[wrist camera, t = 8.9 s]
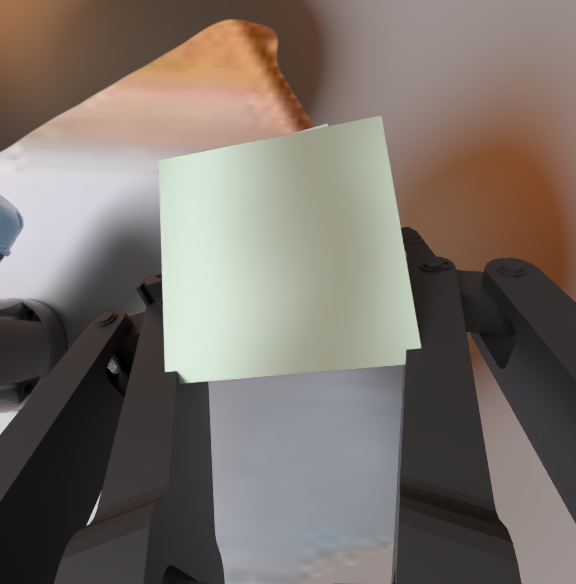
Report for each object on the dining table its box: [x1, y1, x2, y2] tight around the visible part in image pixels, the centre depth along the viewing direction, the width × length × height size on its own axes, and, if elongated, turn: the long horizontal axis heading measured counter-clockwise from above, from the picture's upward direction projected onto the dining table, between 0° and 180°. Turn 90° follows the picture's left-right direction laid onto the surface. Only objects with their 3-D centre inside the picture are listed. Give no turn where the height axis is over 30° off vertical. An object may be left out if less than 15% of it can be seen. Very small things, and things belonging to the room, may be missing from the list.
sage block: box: [159, 116, 421, 384], centre depth 13 cm, size 6×6×12 cm
